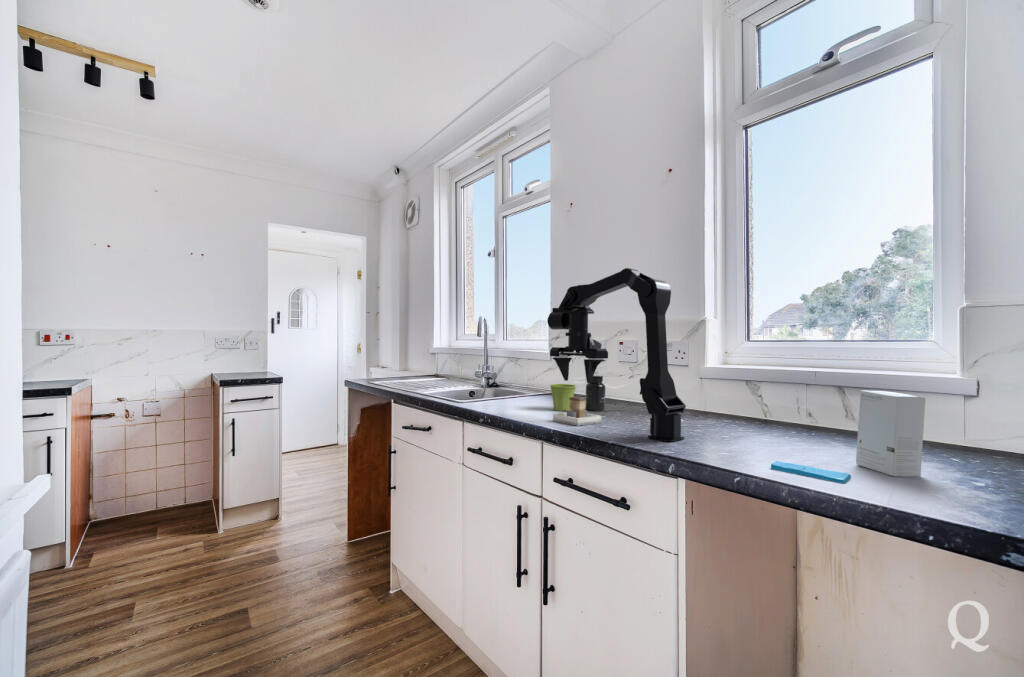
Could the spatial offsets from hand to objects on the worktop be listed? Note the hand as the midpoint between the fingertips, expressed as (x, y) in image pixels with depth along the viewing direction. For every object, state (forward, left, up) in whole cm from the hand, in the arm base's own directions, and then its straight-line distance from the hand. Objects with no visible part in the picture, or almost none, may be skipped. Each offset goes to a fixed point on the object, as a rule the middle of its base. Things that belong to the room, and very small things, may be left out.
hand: (577, 381), depth 133 cm
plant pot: (+19, -13, -12) cm, 26 cm away
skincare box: (-70, -11, -12) cm, 72 cm away
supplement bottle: (+13, -23, -12) cm, 29 cm away
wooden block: (0, 0, -11) cm, 11 cm away
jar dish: (0, 0, -12) cm, 12 cm away
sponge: (-62, +3, -12) cm, 63 cm away
